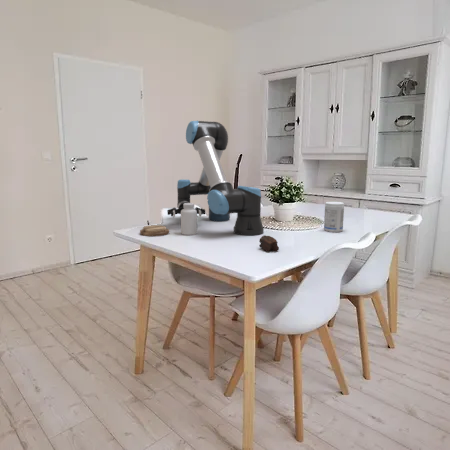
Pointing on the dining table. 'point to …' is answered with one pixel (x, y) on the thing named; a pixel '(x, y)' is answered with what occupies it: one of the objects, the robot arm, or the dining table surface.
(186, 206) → the pill bottle
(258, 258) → the dining table surface
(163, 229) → the brown rope coil
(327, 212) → the supplement tub
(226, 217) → the canister
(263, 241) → the brown notched block
